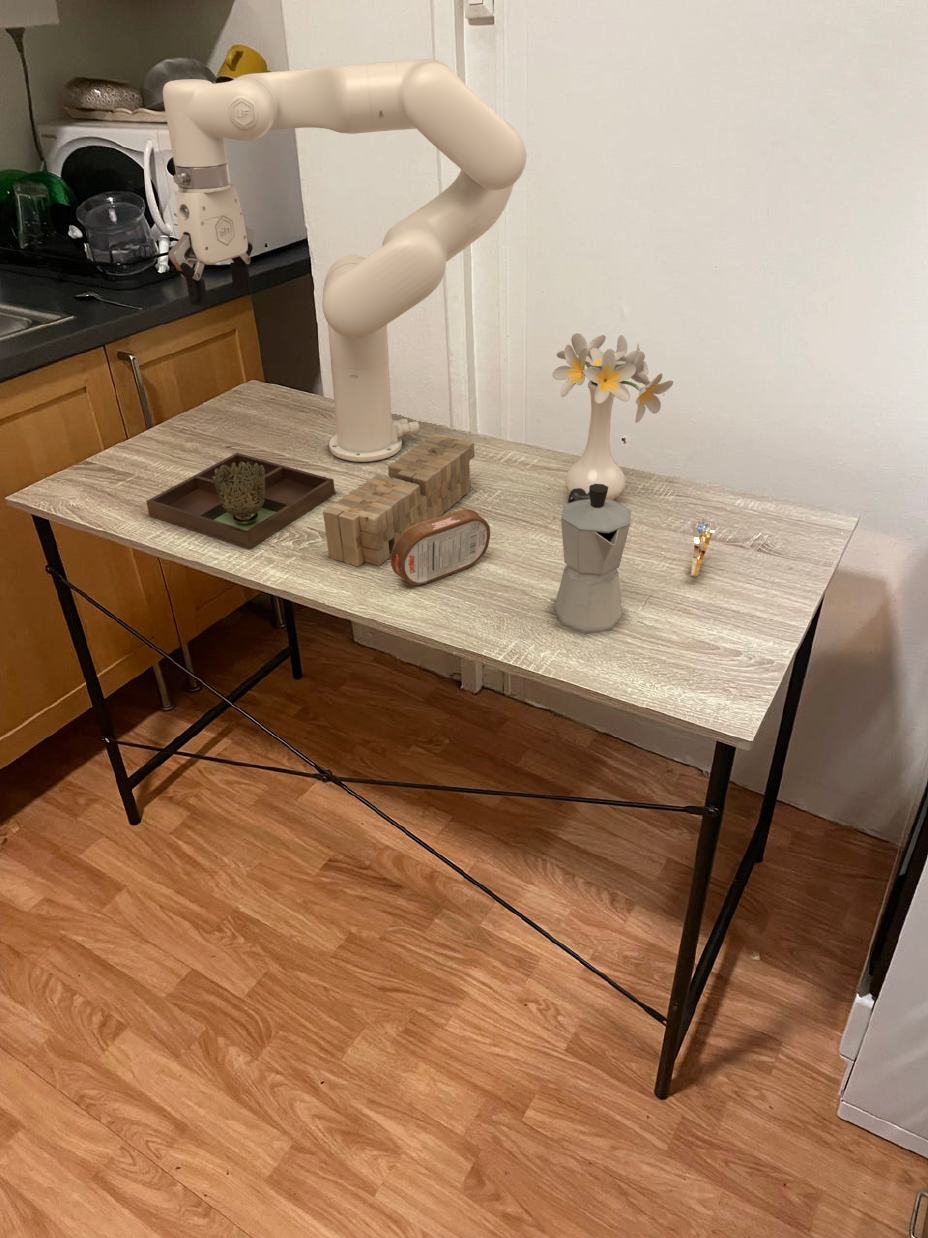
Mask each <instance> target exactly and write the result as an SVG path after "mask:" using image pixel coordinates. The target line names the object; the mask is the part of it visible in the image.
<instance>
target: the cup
mask: <svg viewBox="0 0 928 1238" xmlns="http://www.w3.org/2000/svg"><path fill="white" fill-rule="evenodd" d="M212 477H213V480H214V484H215V487H216V490H217V493H218V497H219V499H220V502H221V504H222V506H223V508H224V509H225V510H226V511H227V512H228V513H229V514H231V515H233V519H234V521H235V522H236V523H237V524H240V525H248V524H252V523H254V522H255V521H256V520H257V518H258V513H257V512H258V511H259V510H260V509H261V508H262V506H263V504H264V500H265V470H264V468H263V466H260V467H259V468H258V465H257V463H256V464H255V465H254V468H253V466H252V465H251V464H250V463H249V462H247V464H245V463H243V462H240V464H239V466H238V468H237V467H236V465H235V463H232V465H231V468H229V467H228V466H226V465H222V466H221V467H220V469H219V470H218V469H215V477H214V476H212Z"/></svg>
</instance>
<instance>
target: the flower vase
mask: <svg viewBox="0 0 928 1238" xmlns="http://www.w3.org/2000/svg"><path fill="white" fill-rule="evenodd" d="M570 340H571V344H566V345H565V347H564V349H563V350H559V351H558V352H557V353H556V357H557V358H558V359H561V360H565V362H566V364H567V365H560V366H558V367H556V368H555V369H554V370H553V371H552V374H551V375H552V376H551V377H552V378H553V380H556V381H565V382H564V383H563V384H562V387H561V390H560V398H565V397H567V395H568V394H569V393H570V391H571V390H573V388H574V386H576V385H577V386H582V385H584V383H585V380H586V378H587V379H588V383H587V388H588V390H589V394H590V396H589V397H590V418H589V419H590V420H589V428H588V435H587V441H586V446H585V449H584V450H583V453H582V454H581V456H580V458H578V459H577V460H576V461H575V462H573V464H572V465H570V467H569V468H568V470H567V471H566V474H565V476H564V486H565V488H566V490H567V491H568V492H569V493H570V492H571V491H572V490H573V489H576V488H581V489H583V490H584V491H585V492H586V494H587V495H588V492H589V487H590V485H593V484H604V485H606V486H607V487H608V492H607V495H606V499H607V500H613V501H615V499H617V498H618V497H619V496H620V495H621V494H622V493H623V492H624V491H625V488H626V485H627V484H626V483H627V481H626V477H625V474H624V473H625V472H624V471H623V469H622V468H621V466H620V465H619V464H618V463H617V462H616V460H615V459H614V457H613V454H612V451H611V443H610V442H611V422H612V421H611V419H612V409H613V404H614V401H615V398H616V399H618V400H619V401H622V402H628V401H630V399H631V394H630V391H629V389H628V388H627V386H626V385H628V386H631V387H633V388H635V390H637V391H638V395H637V398H636V400H635V404H636V405H637V409H636V414H635V423H636V424H637V423H639V422H640V421H641V420H642V419H643V417H644V415H645V413H646V408H647V409H648V411H649V412H650V413H651V414H654V415H655V414H656V415H657V414H658V413H659V412H660V411H661V407H662V405H661V403H662V402H661V400H660V399H659V397H658V396H657V395H662V394H664V393H666V392H667V391H668V390H670V389H671V387H672V386H673V385H674V381H673V380H666V381H663V382H661V381H662V379H663V373H658V374H657V375H656V376H655V377H654V378H653V379H652V380H650V379H649V377H648V375H649V367H648V364H647V362H646V361H644V360H645V358H646V355H645V353H644V352H643V351H641V349H640V345H639V343H637V344H636V350H632V351H630V352H629V353H628V342H627V339H626V337H625V335H623V334H620V335H619V336H618V338H617V341H616V342H617V343H616V351H615V350H614V349H612V348H608V349H606V350H605V351H604V352H603V350H601V349H600V348H601V347H602V346H603V344H604V343H605V341H606V340H607V336H606V335H605V334H601V335H598V336H596V337H594V338H593V339H592V340H591V341H590V342H589V344H588V342H587V339H586V338H585V337H584V336H583V335H582V334H581V333H578V332H576V333H573V335H572V336H571V339H570ZM630 379H631V380H633V381H634V382H636V383H638V384H642V385H644V386H642V387H641V386H639V385H638V384H636V383H634V382H632V381H628V380H630Z"/></svg>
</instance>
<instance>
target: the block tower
mask: <svg viewBox="0 0 928 1238" xmlns="http://www.w3.org/2000/svg"><path fill="white" fill-rule="evenodd" d="M474 458H475V442H473V441H469V440H465V439H459V438H456V437H450V436H446V435H442V434H437V433H433V434H431V435H430V436H428V437H426V438H425V439H424V441H421V442H420V443H419V444H418V445H417V446H416V447H415V448H412V449H411V450H409V451H408V452H406V454H403V455H401V456H400V457H399V458H398V459H397V460H395V461H394V462H391V463H389V464H388V466H387V468H388V475H384V474H382V473H377V474H376V475H374V476H373V477H371V478H369V479H368V480H367V481H366V482H364V483H362V485H360V486H358V487H356V488H355V489H353V490H351V491H350V492H349V493H348V494H346V495H344V496H343V497H342V498H340V499H338V500H337V501H336V502H335V503H333V504H332V505H331V506H328V507H326V508H325V509H323V510H322V514H323V515H322V516H323V522H324V529H325V536H326V537H325V538H326V544H327V552H328V558H329V559H332V560H336V561H339V562H344V563H345V564H347V565H351V566H355V567H360V566H361V565H362V564H363V563H368V564H372V565H375V566H377V567H378V566H380V567H381V566H382V565H383V564H384V563H385V561H387V560H388V559H389V558H391V552H392V549H393V546H394V544H395V543H396V541H397V539H398V538H399V537H400V536H401V534H402V533H403V532H404V531H406V530H407V529H408V528H410V527H411V526H413V525H416V524H419V523H422V522H425V521H428V520H431V519H434V518H437V517H440V516H443V515H444V513H445V512H447V511H448V510H449V509H450V508H452V507H453V506H454V505H455V504H456V503H458V502H459V501H460V500H461V499H462V498H463V497H464V496H465V495H467V494H469V493H470V492H471V483H470V482H471V478H470V475H471V474H470V473H471V471H470V461H471V460H472V459H474Z"/></svg>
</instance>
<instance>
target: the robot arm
mask: <svg viewBox="0 0 928 1238" xmlns="http://www.w3.org/2000/svg"><path fill="white" fill-rule="evenodd" d="M162 99H163V105H164V111H165V117H166V123H167V129H168V136H169V141H170V146H171V147H170V148H171V151H172V159H173V165H174V171H175V174H174V175H173V178H172V179H173V182H174V184H176V185H177V189H178V190H176V219H177V231H178V237H179V239H178V241H177V242H176V243H174V245H173V246H172V248H171V249H170V250H169V251H168V253H167V255H168V258H169V259H170V261H171V263H172V264H173V265H174V268H175V270H176V271H177V272H178V273H179V274H180V275H181V278H183V279H185V282H186V287H187V293H188V299H189V303H190V305H193V306H199V307H203V308H205V307H207V306H209V305H208V304H209V301H208V295H207V289H206V282H205V279H204V278H201V277H202V274H203V271H204V268H205V266H206V265H209V266H211V265H215V264H219V263H223V262H225V261H228V260H232V261H231V262H230V263H229V264H230V266H229V267H230V274H231V280H232V287H233V289H234V290H238V291H244V292H249V291H251V290H252V286H251V280H250V279H251V278H250V271H249V264H250V263H251V257H250V256H251V254H252V252H253V248H254V247H253V243H254V237H255V231H254V230H253V229H251V228H250V227H247V226H246V225H245V220H244V214H243V211H242V207H241V203H240V199H239V195H238V192H237V190H236V187H235V184H232V183H231V179H230V170H229V164H228V158H227V157H228V156H227V151H226V143H225V139H230V140H237V141H245V142H247V141H248V142H249V141H257V140H258V139H261V138H262V137H264V136H265V135H266V134H267V133H268V131H277V130H287V129H289V130H290V129H303V128H304V129H306V128H308V129H309V128H312V129H313V128H315V129H325V130H330V131H333V132H337V133H339V134H346V135H347V134H348V135H349V134H350V135H357V134H367V133H376V132H389V131H405V130H406V131H407V130H417V131H418V132H419V133H420V134H421V135H423V137H424V138H426V140H428V141H429V143H431V144H432V145H433V146H434V147H435V148H436V149H437V150H438V151H440V152H441V153H442V154H443V155H444V156H445V157H446V158H447V159H449V161H451V162H452V163H454V164H455V166H457V167H458V168H459V169H460V172H459V173H458V175H457V177H456V178H455V180H454V181H453V182H452V183H451V184H450V185H449V186H447V188H446V189H444V190H443V191H442V192H440V193H439V194H438V195H436V196H435V197H434V198H433V199H432V200H430V201H429V202H427V203H426V204H424V205H423V206H421V207H420V208H419V209H417V210H415V211H414V212H412V213H411V214H409V215H408V216H405V218H403V219H401V220H399V221H398V222H397V223H395V224H394V225H392V226H391V227H390V228H389V229H388V230H387V232H386V233H385V235H384V237H383V239H382V243H381V247H380V248H378V249H377V250H375V251H374V252H373V253H371V254H370V255H368V256H367V257H364V256H361V255H356V254H353V255H352V254H351V255H350V254H349V255H345V256H343V257H340V258H339V259H337V260H336V261H335V262H334V263H333V264H332V265H331V266H330V268H329V269H328V271H327V273H326V274H325V275H326V276H325V279H324V283H323V290H322V303H321V305H322V313H323V315H324V318H325V320H326V322H327V329H328V342H329V343H328V344H329V355H330V368H331V369H330V370H331V379H332V380H331V381H332V390H333V403H334V412H335V424H336V433H335V435H333V436H332V437H331V438H330V440H329V443H328V447H329V451H330V453H331V454H332V455H333V456H335V457H336V458H339V459H342V460H344V461H349V462H357V463H359V462H360V463H368V462H377V461H381V460H386V459H388V458H391V457H392V456H393V457H394V455H396V454H398V453H399V452H400V451H401V450H402V447H403V440H402V437H403V435H407V434H416V433H417V434H418V433H419V432H420V424H419V421H417V420H416V421H415V420H414V421H409V422H408V418H401V419H398V420H395V419H393V417H392V401H391V400H392V399H391V382H390V379H391V378H390V362H389V360H390V357H389V356H390V355H389V335H388V324H390V323H391V322H393V321H394V320H395V319H397V318H399V317H400V316H402V315H403V314H405V313H407V311H409V310H411V309H412V308H414V307H415V306H416V305H418V304H420V303H422V301H424V300H425V299H426V298H428V297H429V296H430V295H431V294H432V293H433V292H434V291H435V290H436V289H437V288H438V287H439V286H440V284H441V282H442V281H443V279H444V276H445V273H446V269H447V267H446V266H447V262H448V261H450V260H451V259H452V258H454V257H455V256H457V255H458V254H460V253H461V252H463V251H464V250H465V249H466V248H468V247H469V246H470V245H471V244H473V243H474V242H476V241H477V240H478V239H479V238H481V237H482V236H483V235H484V234H486V233H487V232H488V231H489V230H491V228H492V227H493V226H494V224H496V222H497V221H498V220H499V219H500V217H501V215H502V214H503V212H504V211H505V209H506V207H507V204H508V202H509V200H510V197H511V196H512V192H513V189H514V188H513V187H514V185H515V184H516V183H517V182H518V181H519V179H520V178H521V177H522V175H523V173H524V170H525V169H526V164H527V148H526V146H525V143H524V139H523V138H522V137H521V135H520V134H519V132H518V131H517V130H516V129H515V127H513V126H512V124H510V123H509V122H508V121H507V120H505V119H503V118H502V117H501V116H500V115H499V114H498V113H497V112H495V111H494V110H493V109H492V108H491V107H490V106H489V105H488V104H487V103H485V102H484V101H483V100H482V99H481V98H480V97H479V96H478V95H477V94H476V93H475V92H474V91H473V90H472V89H471V88H470V87H469V86H468V85H467V84H466V83H465V82H464V81H463V80H462V78H460V76H458V75H457V73H456V72H455V71H454V70H453V69H452V68H451V67H450V66H449V65H448V64H447V63H445V62H443V61H441V60H438V59H432V58H423V59H421V58H420V59H409V60H397V61H396V60H395V61H385V62H384V61H383V62H373V63H360V64H359V63H357V64H345V65H343V64H342V65H332V66H327V67H322V68H311V69H297V70H295V69H294V70H283V71H282V70H281V71H270V72H269V71H268V72H255V73H247V74H242V75H240V76H237V77H236V78H234V79H232V80H230V81H225V82H224V81H223V82H217V83H213V82H211V81H210V80H207V79H197V78H195V79H194V78H192V79H191V78H190V79H189V78H185V79H175V80H170V81H167V82H166V83H165V84H164V85H163V88H162Z"/></svg>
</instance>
